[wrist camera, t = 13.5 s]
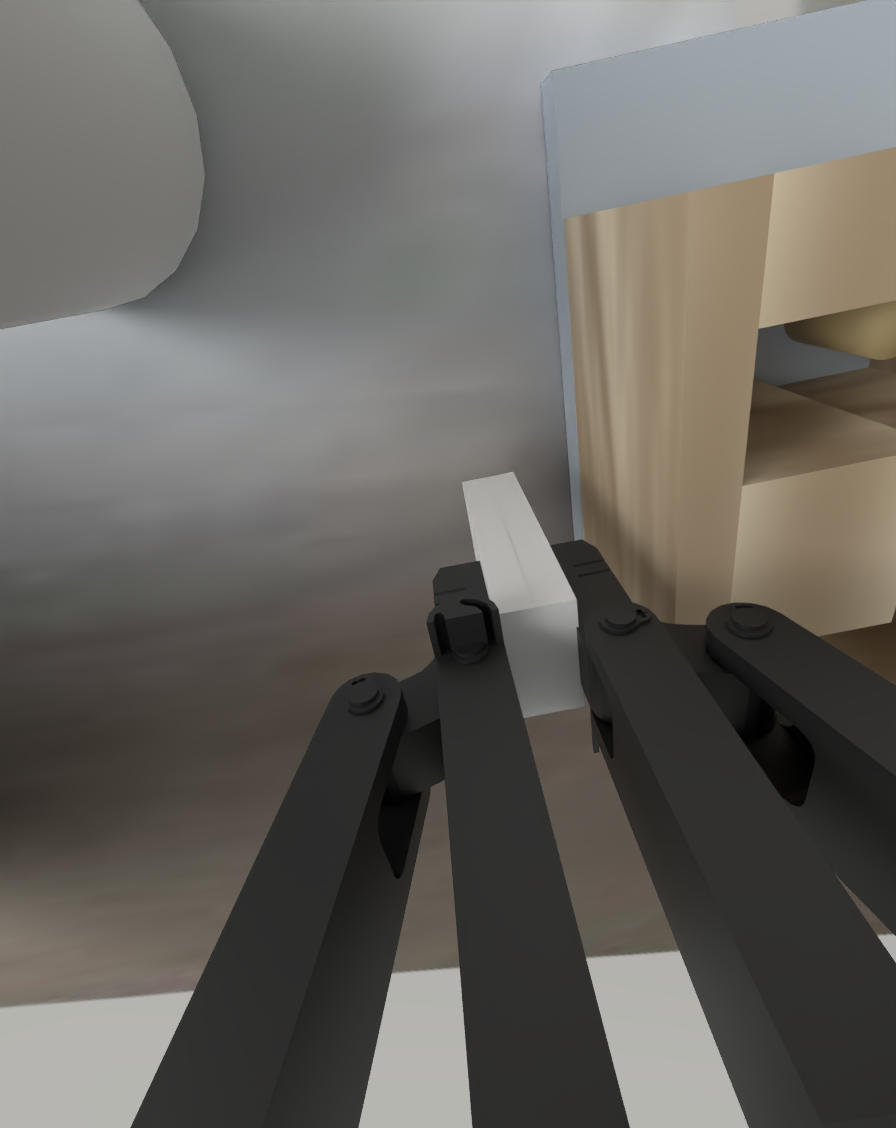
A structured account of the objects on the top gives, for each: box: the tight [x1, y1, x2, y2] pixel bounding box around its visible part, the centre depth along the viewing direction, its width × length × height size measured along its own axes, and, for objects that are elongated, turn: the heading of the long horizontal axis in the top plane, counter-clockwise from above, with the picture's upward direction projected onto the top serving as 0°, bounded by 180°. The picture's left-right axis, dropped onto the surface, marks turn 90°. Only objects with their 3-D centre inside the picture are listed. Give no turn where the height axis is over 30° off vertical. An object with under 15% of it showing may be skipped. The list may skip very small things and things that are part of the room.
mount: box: [541, 0, 896, 541], centre depth 16 cm, size 14×20×4 cm
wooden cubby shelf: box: [564, 147, 896, 685], centre depth 14 cm, size 10×14×7 cm
